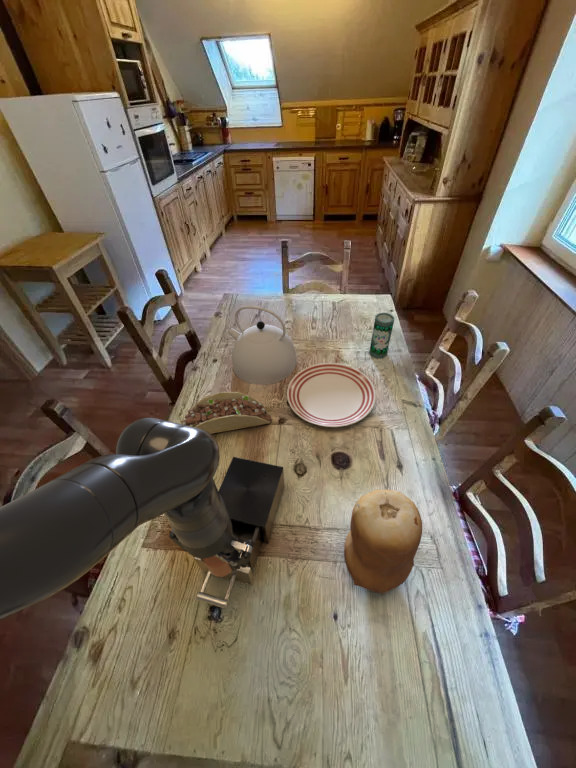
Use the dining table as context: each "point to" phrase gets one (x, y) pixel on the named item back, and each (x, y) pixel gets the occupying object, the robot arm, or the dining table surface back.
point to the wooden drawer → (242, 574)
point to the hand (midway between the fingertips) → (221, 560)
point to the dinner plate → (331, 395)
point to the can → (381, 335)
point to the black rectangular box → (253, 493)
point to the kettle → (262, 352)
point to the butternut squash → (382, 540)
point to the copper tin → (217, 566)
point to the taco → (226, 412)
